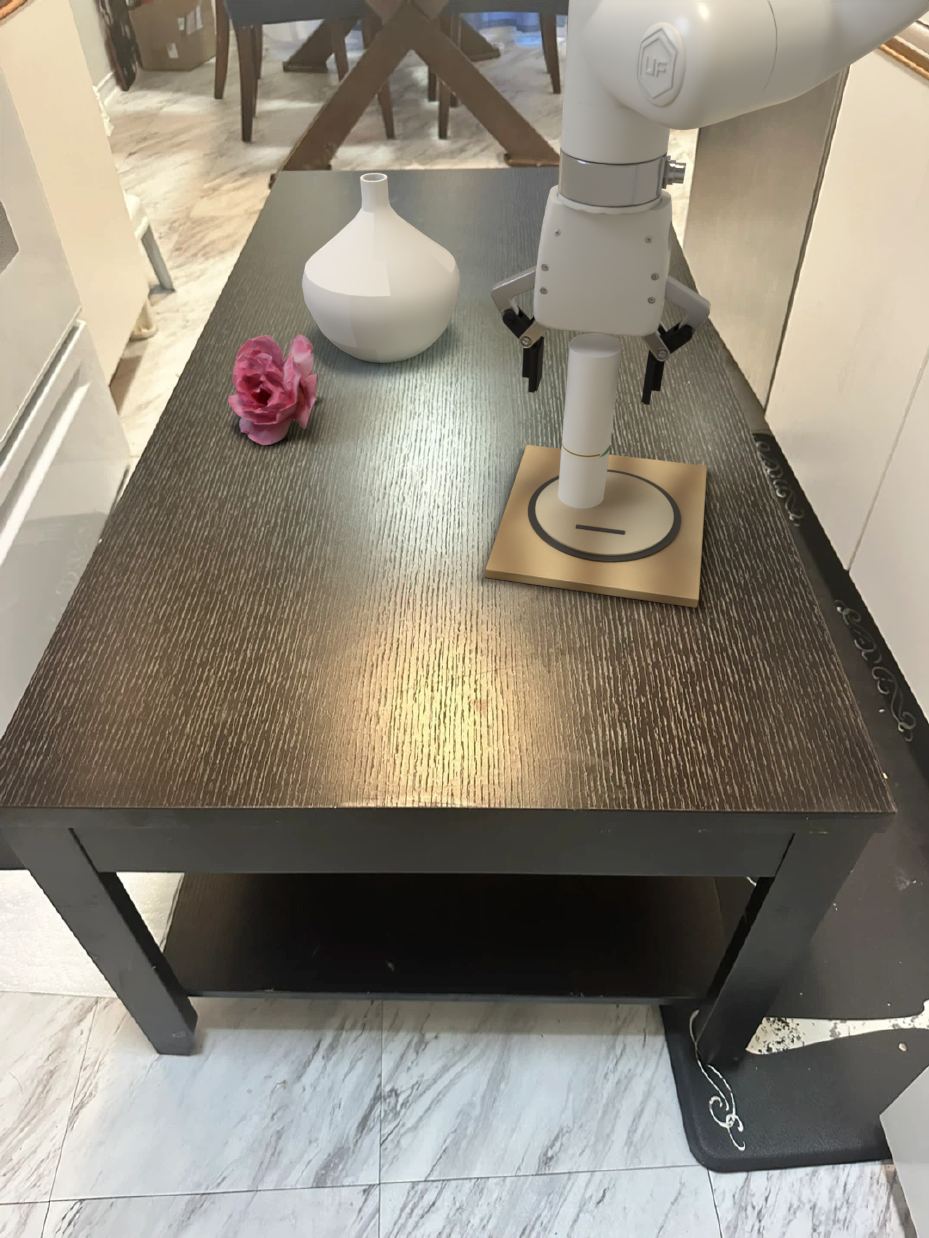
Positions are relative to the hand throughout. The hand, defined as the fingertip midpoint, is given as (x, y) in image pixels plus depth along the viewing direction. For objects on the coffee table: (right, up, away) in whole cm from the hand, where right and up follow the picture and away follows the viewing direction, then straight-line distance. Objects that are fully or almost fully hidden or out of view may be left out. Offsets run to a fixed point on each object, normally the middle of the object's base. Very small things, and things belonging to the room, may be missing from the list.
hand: (590, 390), depth 76 cm
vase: (-20, +14, +33) cm, 41 cm away
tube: (0, -8, +8) cm, 11 cm away
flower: (-31, +1, +20) cm, 37 cm away
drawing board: (+2, -11, +7) cm, 13 cm away
